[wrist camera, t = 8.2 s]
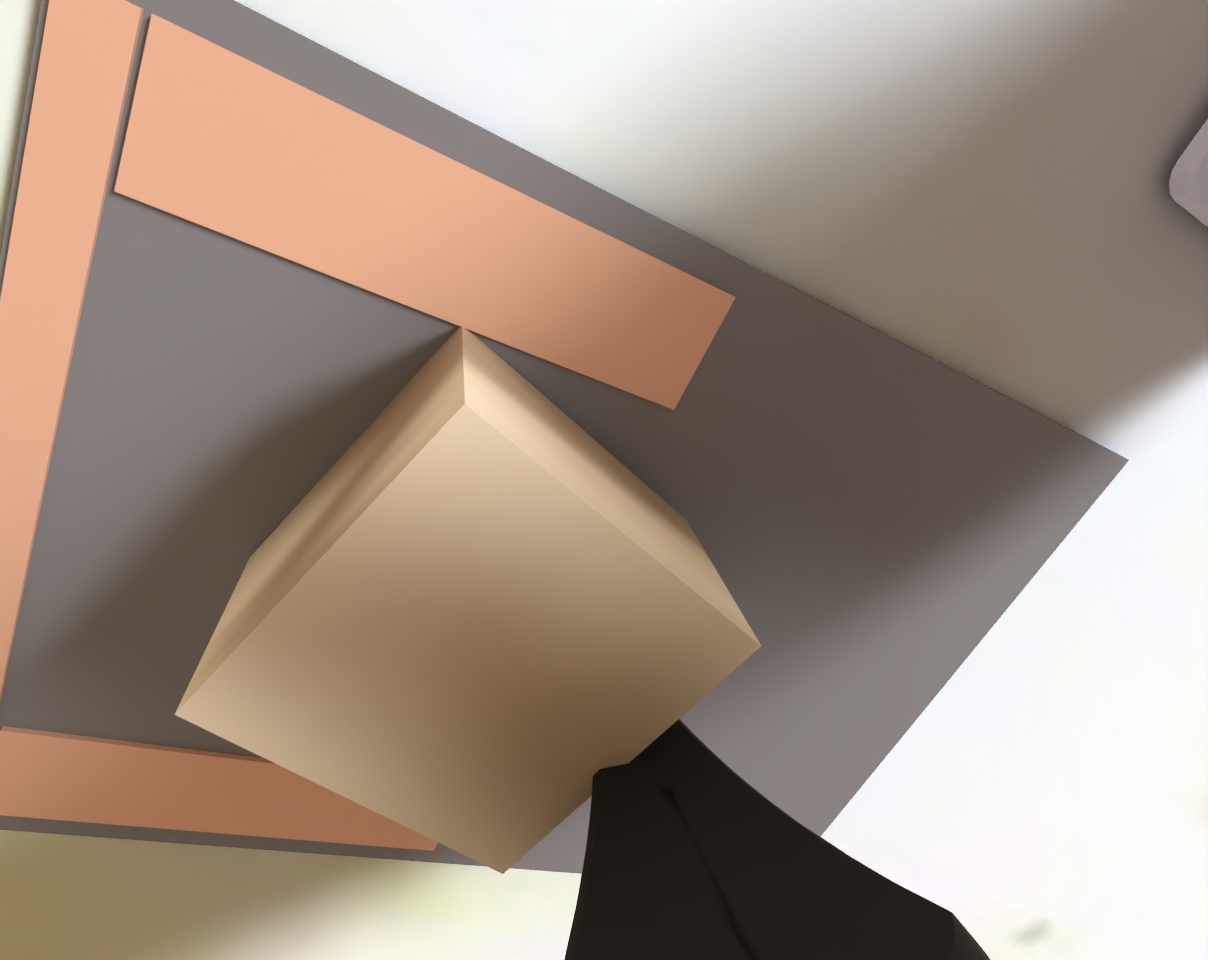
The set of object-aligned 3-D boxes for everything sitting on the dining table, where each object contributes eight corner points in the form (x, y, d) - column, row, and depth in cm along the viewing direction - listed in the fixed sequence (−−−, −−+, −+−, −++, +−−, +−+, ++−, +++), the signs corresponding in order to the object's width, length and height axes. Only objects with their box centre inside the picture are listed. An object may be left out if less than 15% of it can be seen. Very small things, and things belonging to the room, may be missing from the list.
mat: (62, -89, 8) (52, -92, 7) (1120, 455, 15) (1132, 462, 15) (-84, 812, 13) (-95, 827, 12) (774, 881, 20) (779, 891, 20)
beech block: (462, 323, 11) (464, 403, 7) (686, 520, 13) (762, 646, 10) (249, 556, 12) (175, 714, 8) (491, 704, 14) (503, 874, 11)
